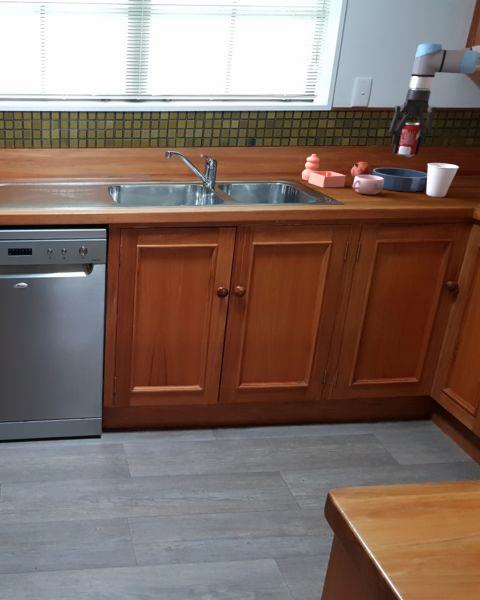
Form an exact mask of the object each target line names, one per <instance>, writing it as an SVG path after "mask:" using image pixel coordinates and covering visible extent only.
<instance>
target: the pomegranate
mask: <svg viewBox="0 0 480 600" xmlns="http://www.w3.org/2000/svg"><path fill="white" fill-rule="evenodd" d="M353 165H354V166H353V167H352V168H351V170H350V174H351V176H352V177H353V178H354V179H355V177H356V176H357V175H371V166H370V164H369V162H366V161H359V162H356V163H353Z"/></svg>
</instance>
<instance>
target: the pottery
mask: <svg viewBox="0 0 480 600" xmlns="http://www.w3.org/2000/svg"><path fill="white" fill-rule="evenodd" d="M319 162H320V158H319V157H318V156H317V154H316V153H312V154H311V156H308V157H307V158H306V163H305V165H304V167H305V169H304V170H303V171H302V172H301V179H302V180H305V181H308V184H311V185H315V186H317V187H320V188H323V189H324V188H344V187H345V184H346V179H347V175H345V174H342V173H339V172H335V171H332V170H326V171H325V170H324V171H323V170H322V171H321V170H320V171H319V170H318V169H319V168H320V163H319Z"/></svg>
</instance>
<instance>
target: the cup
mask: <svg viewBox="0 0 480 600" xmlns="http://www.w3.org/2000/svg"><path fill="white" fill-rule="evenodd" d="M459 168H460V166H458V165H456V164H451V163H445V162H429V163H427V174H428V177H427V185H426V191H425V194H426V195H427V196H429V197H433V198H444V197H446V196H447V193H448V191H449V188H450V186H451V184H452V182H453V180H454V178H455V176H456V174H457V172H458V169H459Z"/></svg>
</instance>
